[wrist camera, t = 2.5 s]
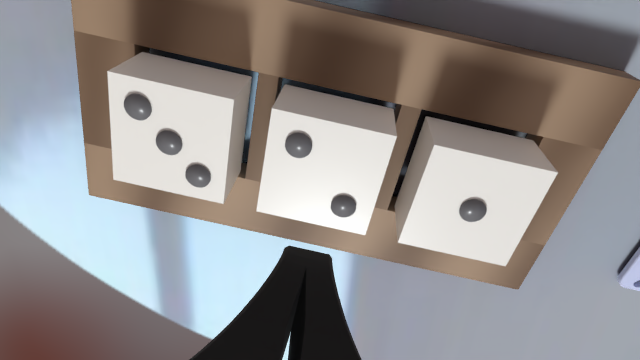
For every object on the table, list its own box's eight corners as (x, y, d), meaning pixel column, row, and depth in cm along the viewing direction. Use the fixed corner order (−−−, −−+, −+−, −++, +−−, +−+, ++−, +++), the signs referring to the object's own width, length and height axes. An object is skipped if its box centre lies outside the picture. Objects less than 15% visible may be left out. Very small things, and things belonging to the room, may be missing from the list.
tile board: (624, 71, 19) (642, 82, 18) (510, 271, 25) (518, 289, 24) (87, -52, 19) (66, -50, 18) (103, 181, 25) (89, 194, 24)
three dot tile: (252, 76, 20) (233, 100, 17) (240, 171, 22) (222, 205, 19) (142, 51, 19) (106, 72, 17) (143, 149, 22) (112, 180, 19)
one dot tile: (533, 140, 20) (559, 173, 17) (489, 227, 22) (506, 267, 20) (425, 116, 20) (434, 146, 17) (394, 205, 22) (397, 243, 20)
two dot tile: (393, 108, 20) (396, 137, 17) (365, 199, 22) (365, 236, 20) (284, 83, 20) (271, 109, 17) (269, 177, 22) (255, 212, 19)
